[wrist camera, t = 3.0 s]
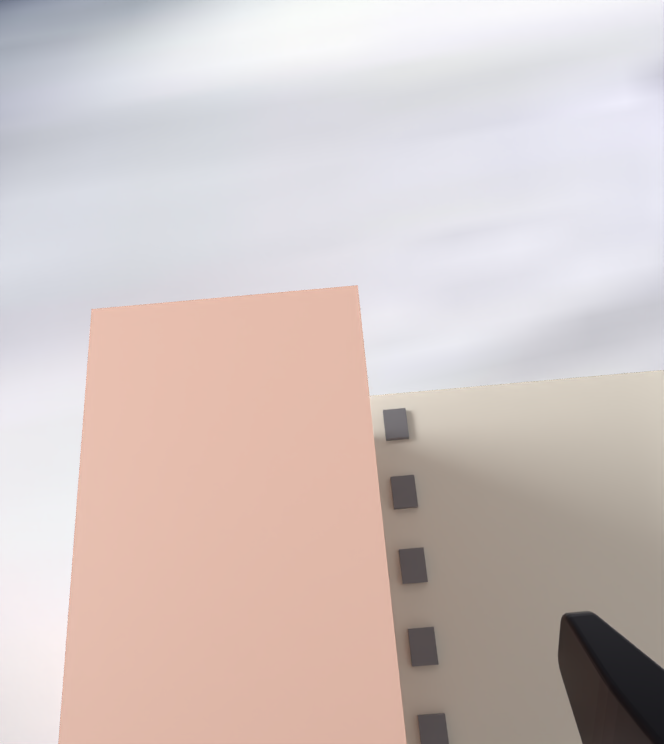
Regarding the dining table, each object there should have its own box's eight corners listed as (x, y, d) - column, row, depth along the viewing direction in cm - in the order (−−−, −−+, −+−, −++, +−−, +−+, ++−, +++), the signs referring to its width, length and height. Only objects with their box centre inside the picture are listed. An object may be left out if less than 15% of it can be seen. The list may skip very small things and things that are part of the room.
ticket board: (717, 733, 16) (785, 755, 13) (404, 759, 16) (412, 786, 13) (626, 400, 19) (667, 367, 17) (368, 423, 19) (369, 393, 17)
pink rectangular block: (388, 764, 16) (431, 977, 6) (229, 777, 16) (37, 1007, 6) (358, 453, 18) (358, 285, 9) (225, 465, 19) (91, 309, 9)
